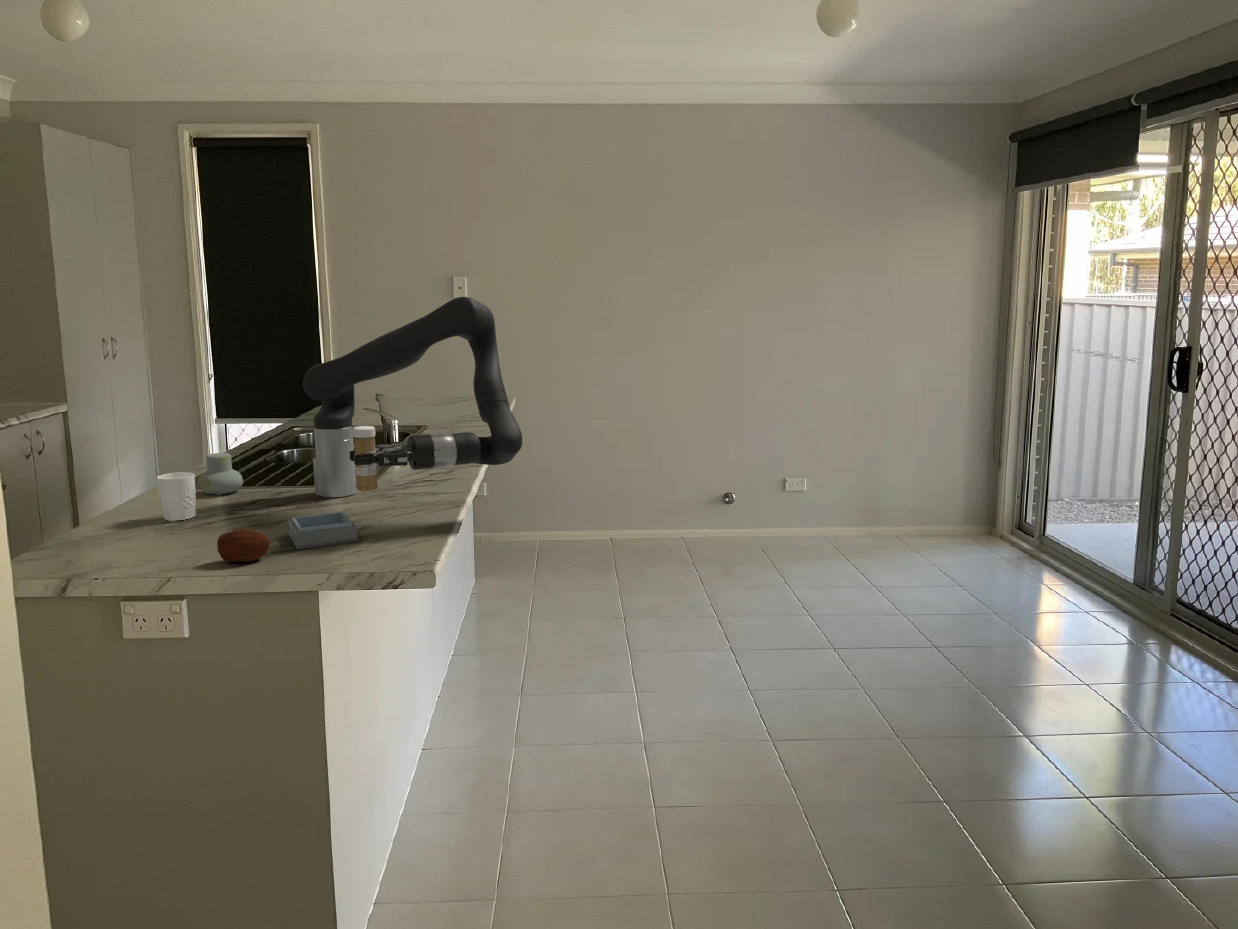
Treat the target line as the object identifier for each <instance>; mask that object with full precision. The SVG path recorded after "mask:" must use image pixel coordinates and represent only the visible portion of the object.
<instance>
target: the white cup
mask: <svg viewBox="0 0 1238 929" xmlns="http://www.w3.org/2000/svg"><path fill="white" fill-rule="evenodd" d="M156 480H157V482H156V483H157V488H158V493H159V494H158V495H159V500H160V505H161V509H162V515H163V520H164V519H165V520H164V521H166V520H169V521H168V522H176V521H175V520H184V521H186V520H185V519H189V518H192V517H194V516H197V512H196V511H197V509H196V505H197V502H196V499H197V497H196V494H197V493H196V476H195V473H193V472H190V471H189V472H188V471H184V472H182V471H181V472H180V471H179V472H170V473H169V472H168V473H164V474H160V475H158V476H157V477H156ZM192 519H193V518H192ZM172 520H173V521H172ZM189 520H190V519H189Z"/></svg>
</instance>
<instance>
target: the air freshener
mask: <svg viewBox="0 0 1238 929" xmlns="http://www.w3.org/2000/svg"><path fill="white" fill-rule="evenodd" d="M205 460H206V461H205V462H206V471H205V472H204V473H202V474H201V475H200V476H199V477H198V486H199V487H200V489H201V491H202V492H203V493H206V494H207V495H209V494H215V495H214V496H217V495H216V494H224V495H228V494H227V493H229V494H232V493H235V492H236V491H238V490H240V488H242V486H243V484H244V479H243V476H242V474H241V473H240V472H239V471H237V470H235V469H233V466H232V465H233V464H232V455H231V454H230V453H229V452H217V453H210V454H207V455H206V456H205ZM231 492H232V493H231Z"/></svg>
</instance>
